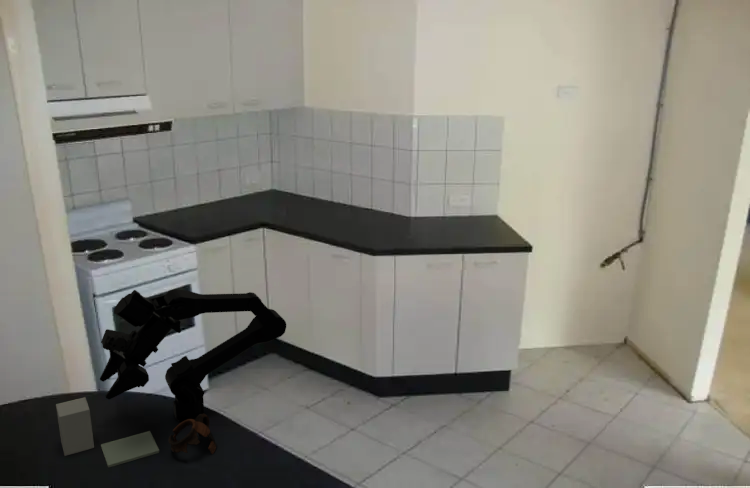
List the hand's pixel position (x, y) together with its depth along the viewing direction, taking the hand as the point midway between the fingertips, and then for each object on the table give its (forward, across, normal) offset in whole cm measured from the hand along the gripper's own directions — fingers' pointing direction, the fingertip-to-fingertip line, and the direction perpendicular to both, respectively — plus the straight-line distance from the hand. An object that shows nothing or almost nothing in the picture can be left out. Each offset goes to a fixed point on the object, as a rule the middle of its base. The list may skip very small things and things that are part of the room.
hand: (104, 389), depth 147 cm
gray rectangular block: (+14, 0, +4) cm, 14 cm away
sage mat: (+7, +8, +11) cm, 15 cm away
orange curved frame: (-3, +14, +21) cm, 25 cm away
